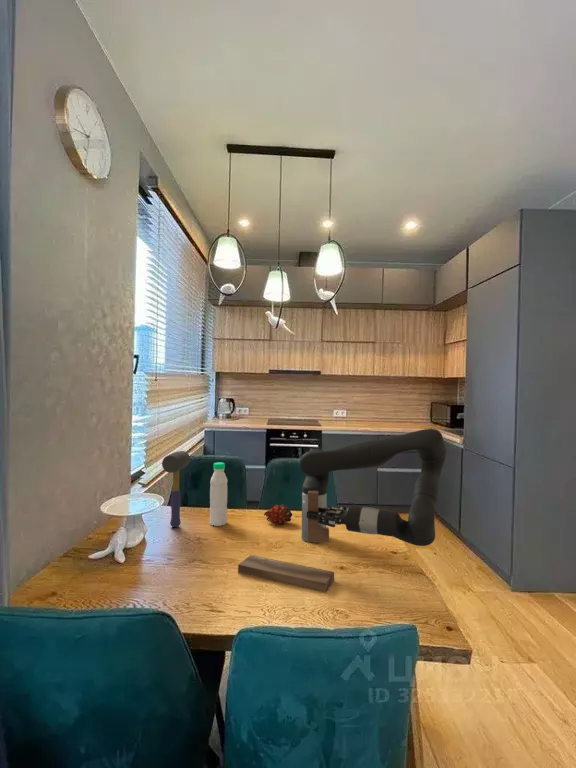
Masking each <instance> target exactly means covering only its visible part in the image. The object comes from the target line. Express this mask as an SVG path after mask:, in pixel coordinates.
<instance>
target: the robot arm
mask: <svg viewBox="0 0 576 768" xmlns="http://www.w3.org/2000/svg"><path fill="white" fill-rule="evenodd" d="M410 451H416V452H417V455H418V457H419V459H420V469H421V470H420V475H419V476H418V478H417V479H416V481H415V483H414V485H413V486H414V487H413V492H412V493H413V494H412V500H411V503H412V504H411V505H410V509H409V512H408V520H405V519H403V518H402V517H401V515H400V514H399V512H396V511H393V510H386V509H378V508H374V507H368V506H361V505H353V504H349V505H348V506H337V505H334V506H333V505H328V506H327V502H328V501H327V498H328V497H327V493H328V491H327V490H328V486H329V480H330V473H331V472H335V471H344V470H345V471H346V470H347V471H349V470H359V469H371V468H377V467H382V466H383V465H385V464H387V463H388V462H390V460H392V459H393V458H394V457H396V456H398V455H399V454H401V453H403V452H404V453H405V452H410ZM446 457H447V447H446V444H445V441H444V438H443V435H442V432H440V431H439V430H438V429H436V428H425V429H420V430H415V431H412V432H408V433H404V434H400V435H397V436H391V437H386V438H382V439H374V440H367V441H361V442H356V443H352V444H349V445H346V446H344V447H343V446H342V447H340V448H336V449H332V450H324V449H321V448H313V449H311V450H309V451H306V452H305V453H303V454H302V455H301V458H300V459H299V463H298V464H299V469H300V470H301V472H302V473H303V474H305V479H304V480H303V483H302V489H301V490H302V491H301V492H302V493H301V539H302V541H305V542H308V519H315V520H318V523H319V524H320V526H322V527H330V528H336V526H340V525H345V528H346V530H347V531H348V532H353V533H360V534H367V535H378V536H385V537H393V538H396V539H398V540H400V541H402V542H405V543H408V544H410V545H413V546H418V547H427V546H429V545H431V544H433V542H435V539H436V527H435V526H436V524H435V515H436V511H437V506H438V498H439V483H440V478H441V474H442V470H443V468H444V467H443V466H444V464H445V461H446ZM308 491H318V512H314V511H308ZM308 543H309V542H308ZM313 543H316V542H313Z"/></svg>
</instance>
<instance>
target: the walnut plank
mask: <svg viewBox="0 0 576 768" xmlns="http://www.w3.org/2000/svg"><path fill="white" fill-rule="evenodd" d="M237 573H238V574H241V575H246V576H251V577H254V578H255V577H256V578H259V579H263V580H268V581H272V582H277V583H281V584H285V585H290V586H294V587H299V588H303V589H308V590H312V591H317V592H321V593H327V592H328V590H330V589H329V588H331V586H332V584H333V583H334V581H335V571H332V570H326V569H322V568H316V567H314V566H313V567H311V566H306V565H303V564H302V565H301V564H297V563H292V562H286V561H284V560H283V561H282V560H278V559H273V558H266V557H263V556H258V555H252V554H250V555H249V556H247V557H246V558H245V559H244V560H242V561H241V562H240V563H238V564H237Z"/></svg>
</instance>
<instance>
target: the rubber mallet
mask: <svg viewBox="0 0 576 768" xmlns="http://www.w3.org/2000/svg"><path fill="white" fill-rule="evenodd" d="M190 462H191V456H190V454H189V453H188V452H187V451H185V450H179V451H174V452H172V453H170V454H168V455H166V456H165V457H164V458H163V459H162V462H161V467H162V469H163V470H164V471H165V472H166V473H170V474H171V473H172V491H171V498H170V509H171V513H170V514H171V518H170V521H169V524H170V527H171V526H172V527H177V528H179V527H180V525H181V509H180V508H181V502H182V500H181V499H182V498H181V491H180V471H181V470H183V469H185V468H186V467H188V465H189V464H190ZM178 526H179V527H178ZM172 527H171V528H172Z"/></svg>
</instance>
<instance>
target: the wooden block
mask: <svg viewBox="0 0 576 768" xmlns="http://www.w3.org/2000/svg"><path fill="white" fill-rule="evenodd" d="M308 511H314V512H318V491H308ZM314 542H315V543H330V528H329V526H326V527H322V526H320V524H319V523H318V520H315V519H308V543H314Z"/></svg>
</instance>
